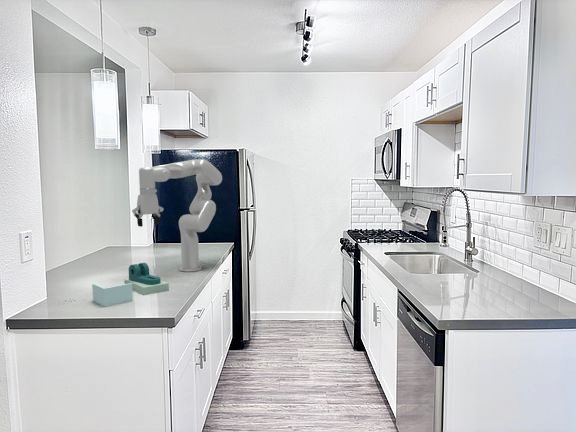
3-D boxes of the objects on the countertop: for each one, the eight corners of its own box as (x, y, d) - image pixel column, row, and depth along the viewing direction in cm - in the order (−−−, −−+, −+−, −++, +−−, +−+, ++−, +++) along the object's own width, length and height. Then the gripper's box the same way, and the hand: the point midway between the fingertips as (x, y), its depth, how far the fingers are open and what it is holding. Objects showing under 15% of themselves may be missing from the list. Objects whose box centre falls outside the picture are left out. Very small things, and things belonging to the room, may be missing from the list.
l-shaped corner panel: (132, 300, 185) (131, 283, 184) (104, 306, 177) (103, 288, 176) (120, 295, 193) (119, 278, 193) (93, 300, 185) (92, 283, 184)
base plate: (148, 283, 218) (147, 275, 217) (168, 291, 201) (168, 283, 201) (124, 287, 209) (124, 279, 209) (144, 296, 193) (143, 287, 193)
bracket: (129, 280, 208) (128, 264, 207) (141, 277, 213) (140, 261, 212) (151, 285, 197) (150, 268, 196) (163, 282, 202) (163, 266, 201)
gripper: (158, 191, 227) (159, 223, 228) (127, 192, 214) (129, 226, 215) (166, 191, 222) (167, 224, 224) (135, 192, 209) (137, 227, 210)
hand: (148, 225), depth 219 cm, fingers open, 9 cm apart
